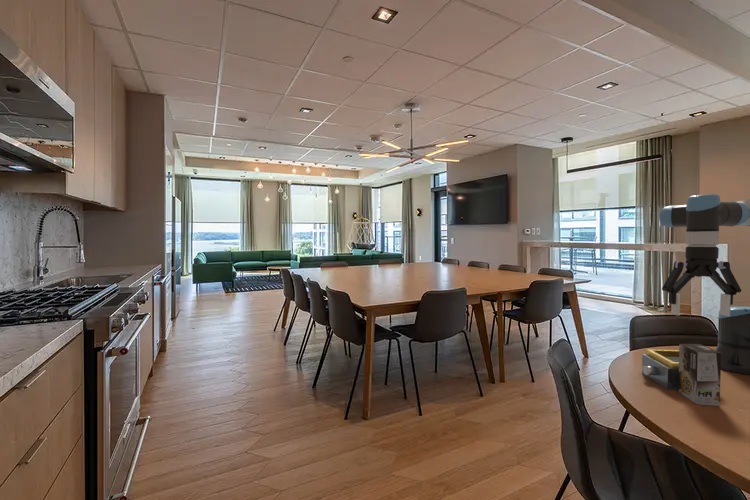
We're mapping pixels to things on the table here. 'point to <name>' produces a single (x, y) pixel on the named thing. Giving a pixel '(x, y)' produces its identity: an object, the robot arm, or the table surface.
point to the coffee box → (699, 374)
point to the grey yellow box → (662, 367)
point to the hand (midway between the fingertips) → (699, 315)
